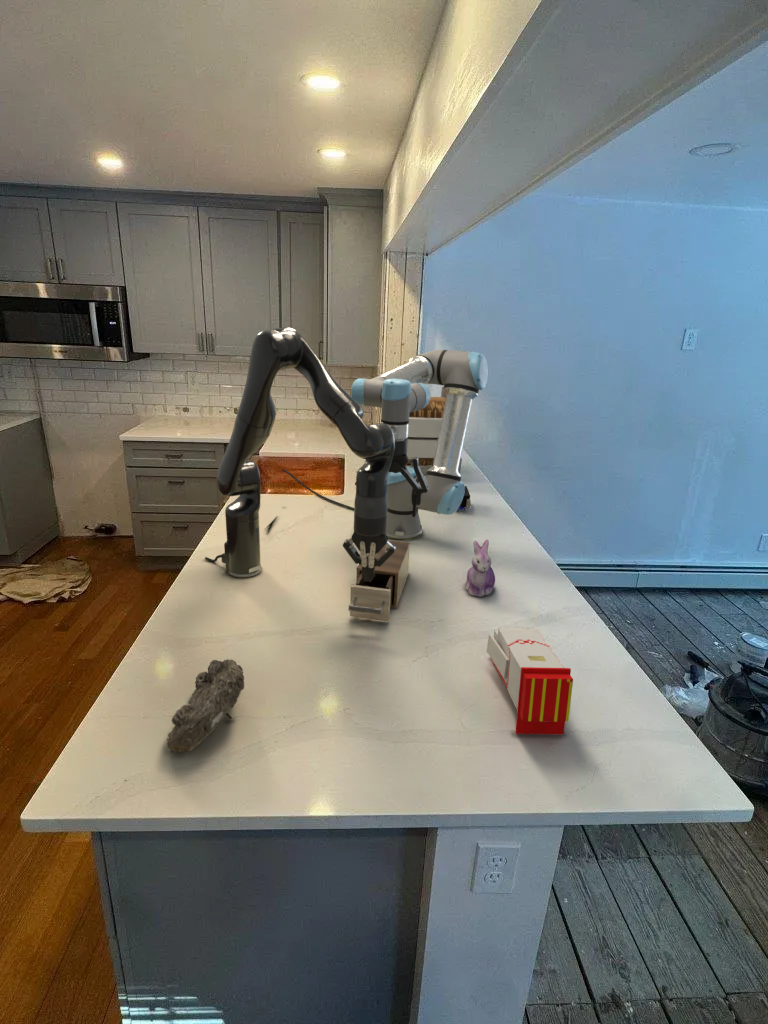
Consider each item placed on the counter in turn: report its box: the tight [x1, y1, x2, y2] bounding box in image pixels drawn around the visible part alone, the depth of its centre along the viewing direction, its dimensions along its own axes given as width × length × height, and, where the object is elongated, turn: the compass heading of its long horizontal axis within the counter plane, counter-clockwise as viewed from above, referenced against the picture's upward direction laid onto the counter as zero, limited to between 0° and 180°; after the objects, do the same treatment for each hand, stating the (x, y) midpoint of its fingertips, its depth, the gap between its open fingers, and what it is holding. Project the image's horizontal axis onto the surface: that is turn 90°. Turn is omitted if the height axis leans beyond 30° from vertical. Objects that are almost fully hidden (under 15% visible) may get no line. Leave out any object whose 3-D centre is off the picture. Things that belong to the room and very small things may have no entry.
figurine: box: [465, 539, 496, 597], centre depth 159 cm, size 9×10×15 cm
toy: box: [486, 627, 574, 736], centre depth 118 cm, size 12×13×30 cm
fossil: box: [166, 658, 245, 754], centre depth 106 cm, size 22×10×15 cm
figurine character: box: [456, 485, 472, 513], centre depth 228 cm, size 7×8×15 cm
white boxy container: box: [406, 386, 463, 475], centre depth 268 cm, size 34×33×41 cm
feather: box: [264, 516, 278, 533], centre depth 207 cm, size 2×28×2 cm
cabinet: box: [355, 539, 411, 609], centre depth 159 cm, size 21×11×10 cm, turn 169°
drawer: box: [348, 573, 395, 622], centre depth 148 cm, size 25×10×8 cm, turn 169°
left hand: (368, 579), depth 135 cm, fingers closed
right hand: (390, 512), depth 159 cm, fingers open, 13 cm apart
